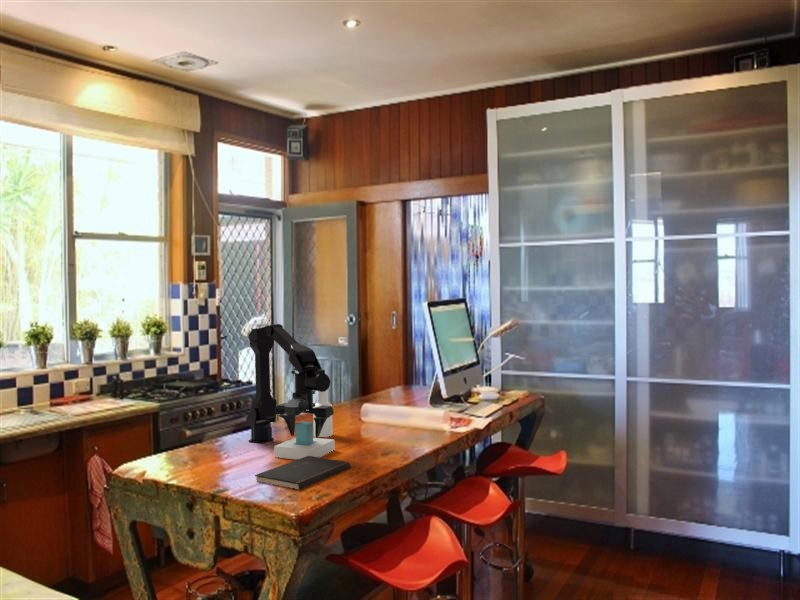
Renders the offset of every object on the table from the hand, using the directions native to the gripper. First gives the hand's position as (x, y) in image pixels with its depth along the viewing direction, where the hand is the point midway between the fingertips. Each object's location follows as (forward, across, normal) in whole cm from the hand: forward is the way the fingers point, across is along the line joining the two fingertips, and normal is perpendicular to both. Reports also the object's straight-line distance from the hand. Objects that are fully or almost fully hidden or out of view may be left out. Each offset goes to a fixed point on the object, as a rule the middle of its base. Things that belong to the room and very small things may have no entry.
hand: (304, 436), depth 204 cm
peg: (+6, 0, 0) cm, 6 cm away
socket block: (+6, 0, 0) cm, 6 cm away
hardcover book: (+6, +12, -20) cm, 24 cm away
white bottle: (+6, -7, +24) cm, 26 cm away
